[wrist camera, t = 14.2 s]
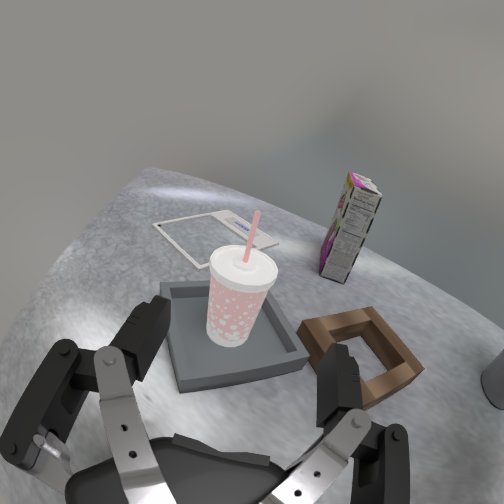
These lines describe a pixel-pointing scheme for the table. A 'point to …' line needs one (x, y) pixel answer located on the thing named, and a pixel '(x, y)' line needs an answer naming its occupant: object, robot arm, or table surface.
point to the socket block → (379, 340)
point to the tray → (226, 358)
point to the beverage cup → (237, 289)
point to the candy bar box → (349, 227)
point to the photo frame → (229, 222)
